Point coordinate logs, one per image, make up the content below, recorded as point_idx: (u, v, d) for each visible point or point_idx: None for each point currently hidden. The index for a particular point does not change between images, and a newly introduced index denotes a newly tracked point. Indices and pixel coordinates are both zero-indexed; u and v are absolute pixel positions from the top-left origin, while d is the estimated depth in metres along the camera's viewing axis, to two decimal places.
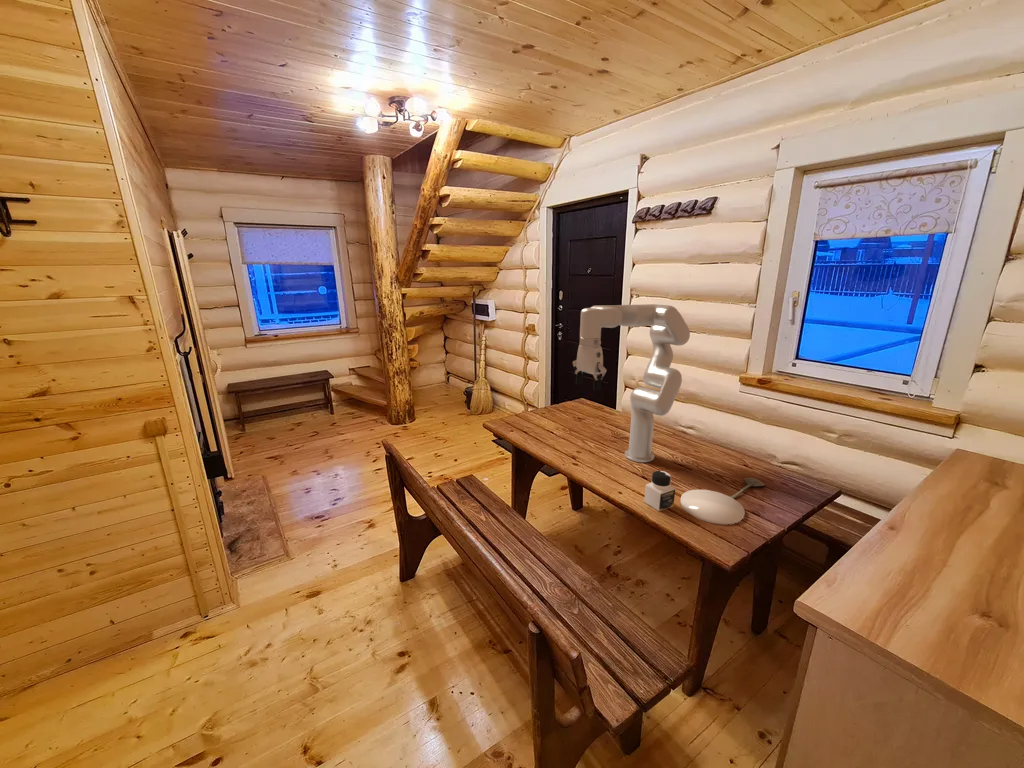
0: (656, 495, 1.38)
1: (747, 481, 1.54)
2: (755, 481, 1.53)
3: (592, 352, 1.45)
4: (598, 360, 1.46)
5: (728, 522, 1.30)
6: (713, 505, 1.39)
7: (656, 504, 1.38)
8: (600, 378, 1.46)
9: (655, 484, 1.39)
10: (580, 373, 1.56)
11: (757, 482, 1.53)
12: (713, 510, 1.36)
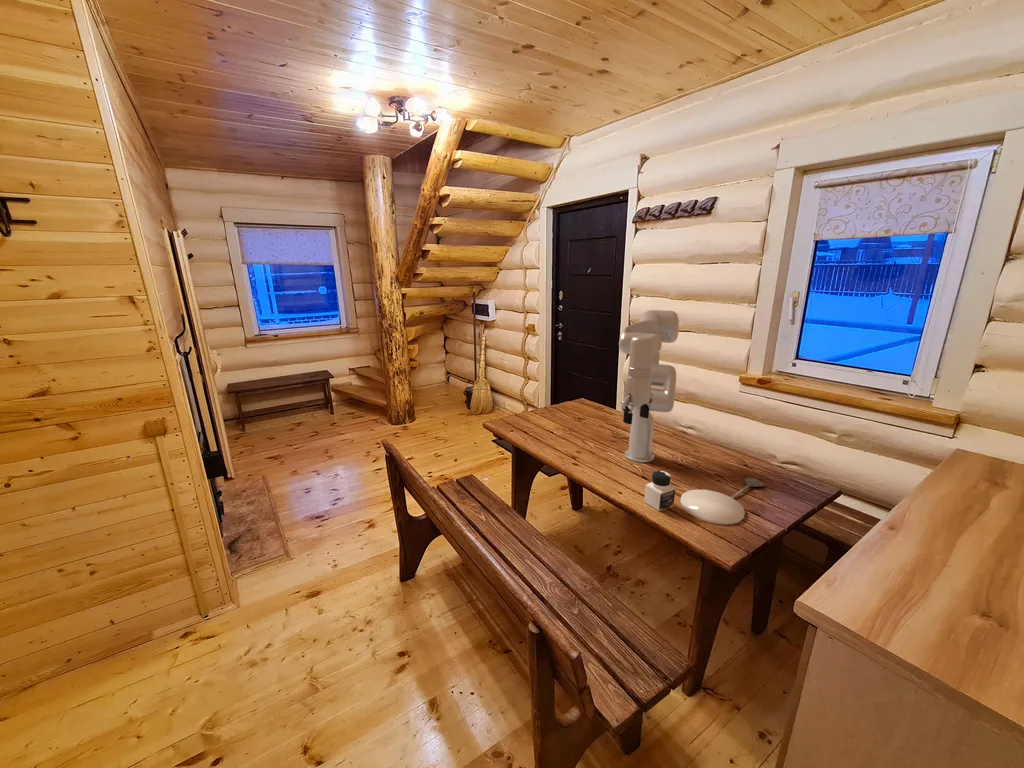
0: (656, 495, 1.38)
1: (747, 481, 1.54)
2: (755, 481, 1.53)
3: (650, 380, 1.39)
4: None
5: (728, 522, 1.30)
6: (713, 505, 1.39)
7: (656, 504, 1.38)
8: None
9: (655, 484, 1.39)
10: None
11: (757, 482, 1.53)
12: (713, 510, 1.36)
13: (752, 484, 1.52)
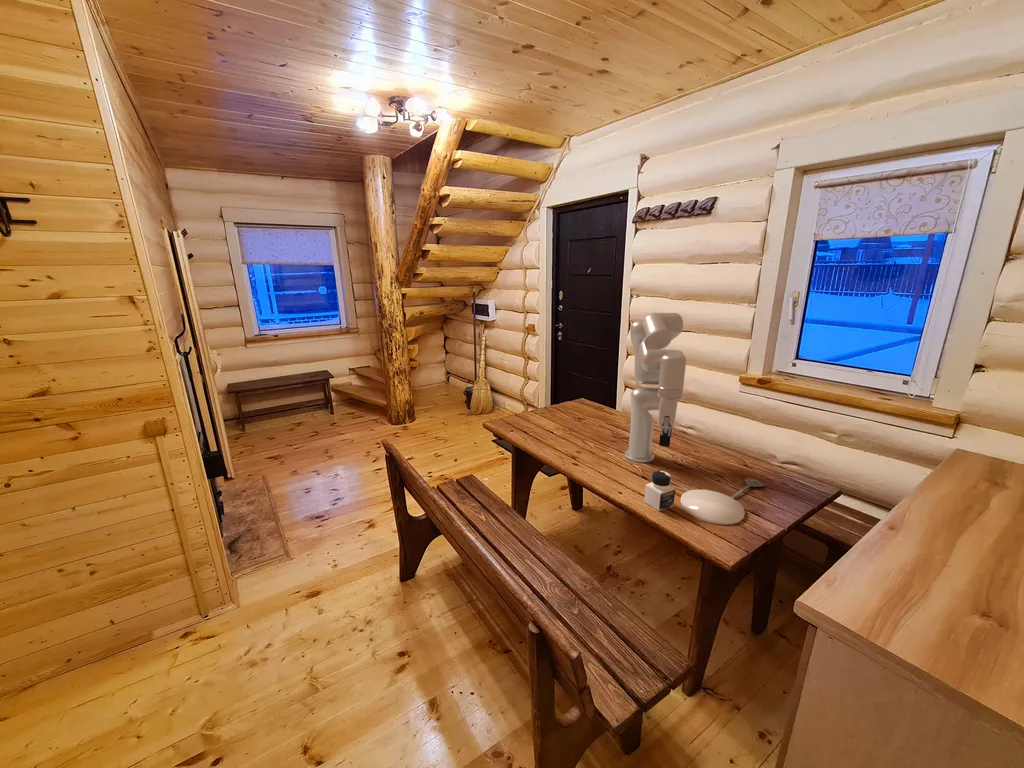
0: (656, 495, 1.38)
1: (747, 482, 1.54)
2: (755, 482, 1.53)
3: None
4: None
5: (728, 522, 1.30)
6: (713, 505, 1.39)
7: (656, 504, 1.38)
8: None
9: (655, 484, 1.39)
10: None
11: (757, 483, 1.53)
12: (713, 510, 1.36)
13: (752, 484, 1.52)
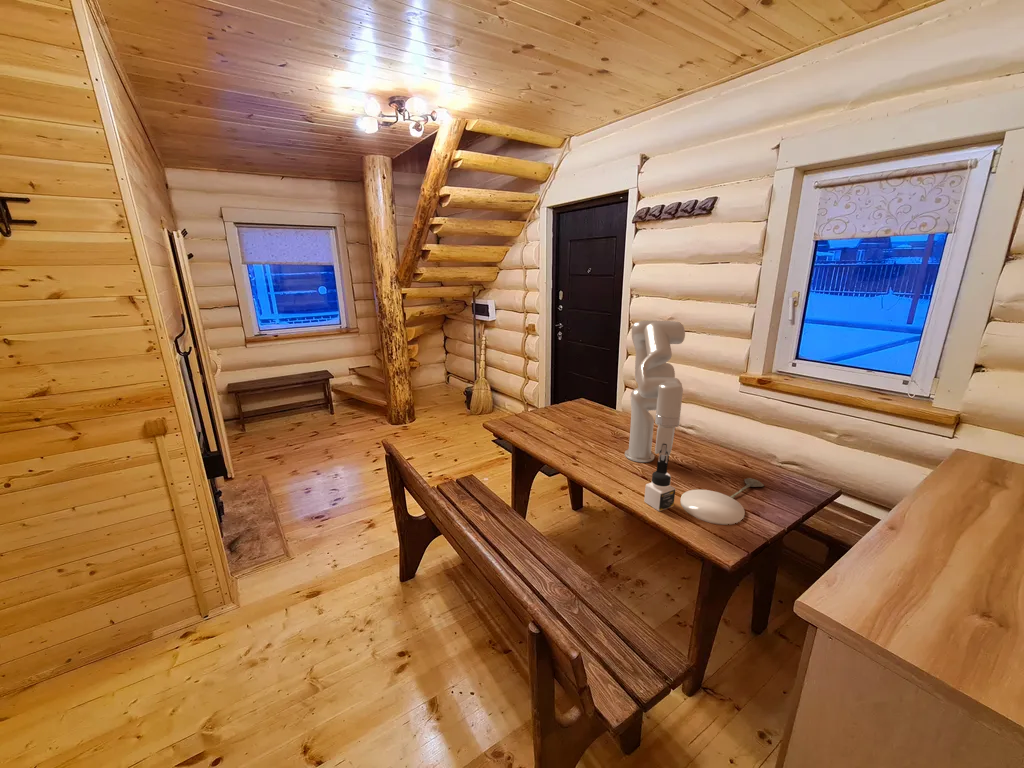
0: (656, 495, 1.38)
1: (746, 481, 1.54)
2: (754, 482, 1.53)
3: None
4: None
5: (728, 522, 1.30)
6: (713, 505, 1.39)
7: (656, 504, 1.38)
8: None
9: (655, 484, 1.39)
10: None
11: (756, 483, 1.53)
12: (713, 510, 1.36)
13: (751, 484, 1.52)
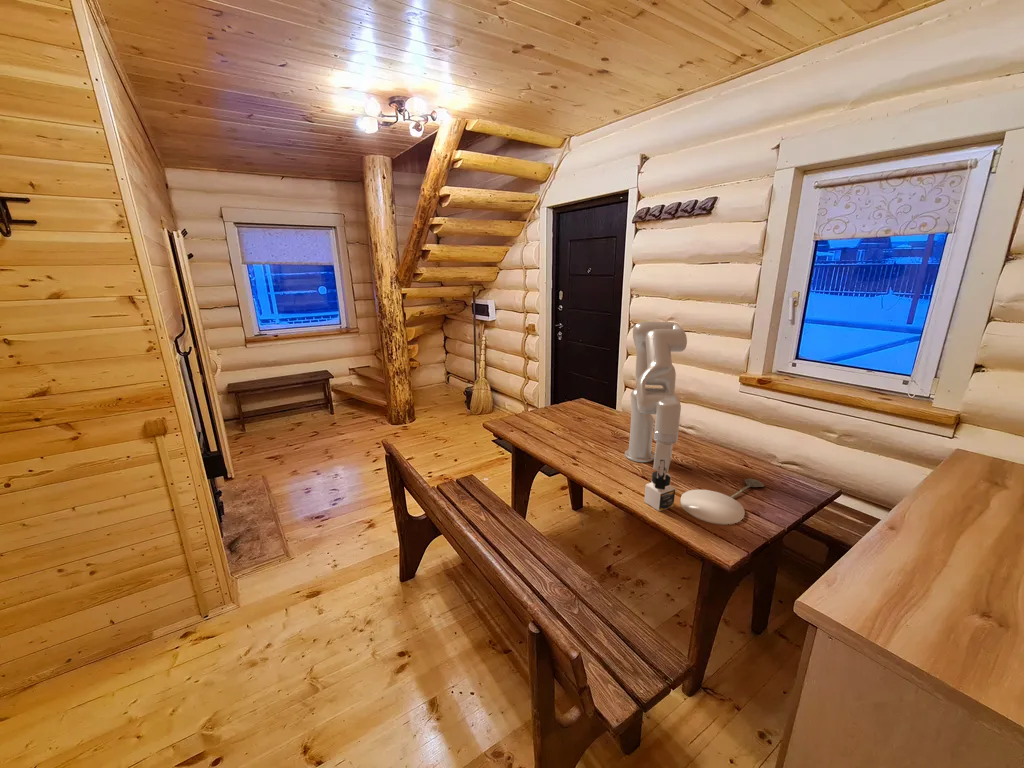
0: (656, 495, 1.38)
1: (747, 482, 1.54)
2: (755, 482, 1.53)
3: None
4: None
5: (728, 522, 1.30)
6: (713, 505, 1.39)
7: (656, 504, 1.38)
8: None
9: None
10: None
11: (757, 483, 1.52)
12: (713, 510, 1.36)
13: (752, 484, 1.52)
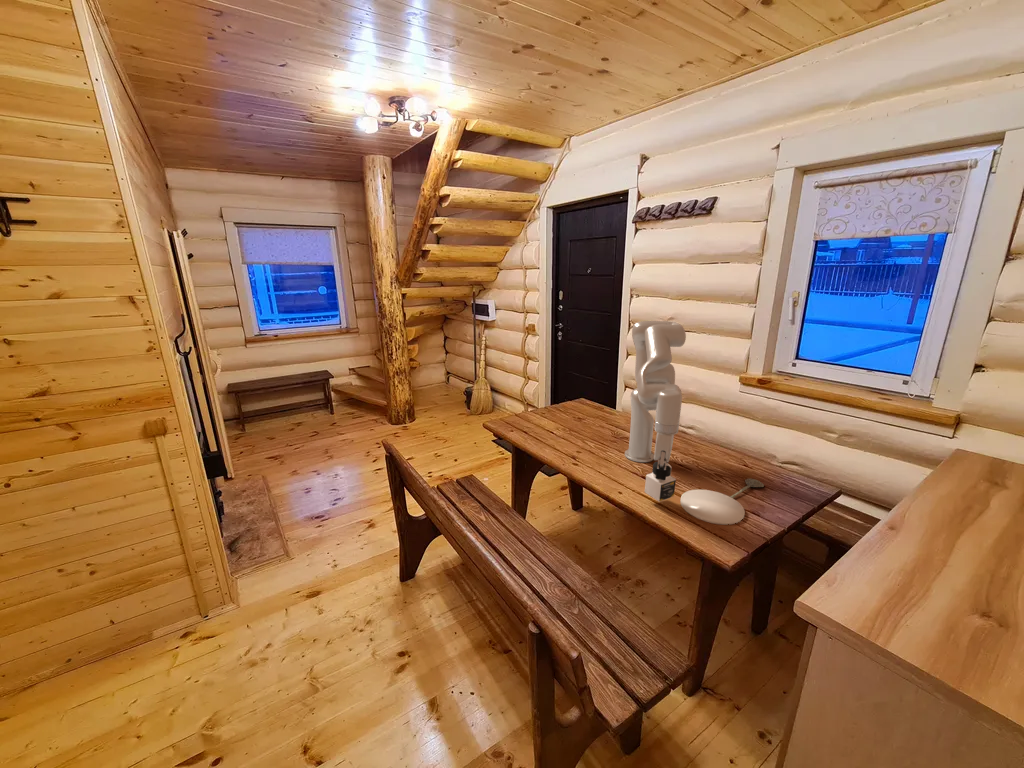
0: (656, 486, 1.38)
1: (747, 482, 1.54)
2: (755, 482, 1.53)
3: None
4: None
5: (728, 522, 1.30)
6: (713, 505, 1.39)
7: (657, 494, 1.38)
8: None
9: (655, 475, 1.38)
10: None
11: (757, 483, 1.52)
12: (713, 510, 1.36)
13: (752, 485, 1.52)
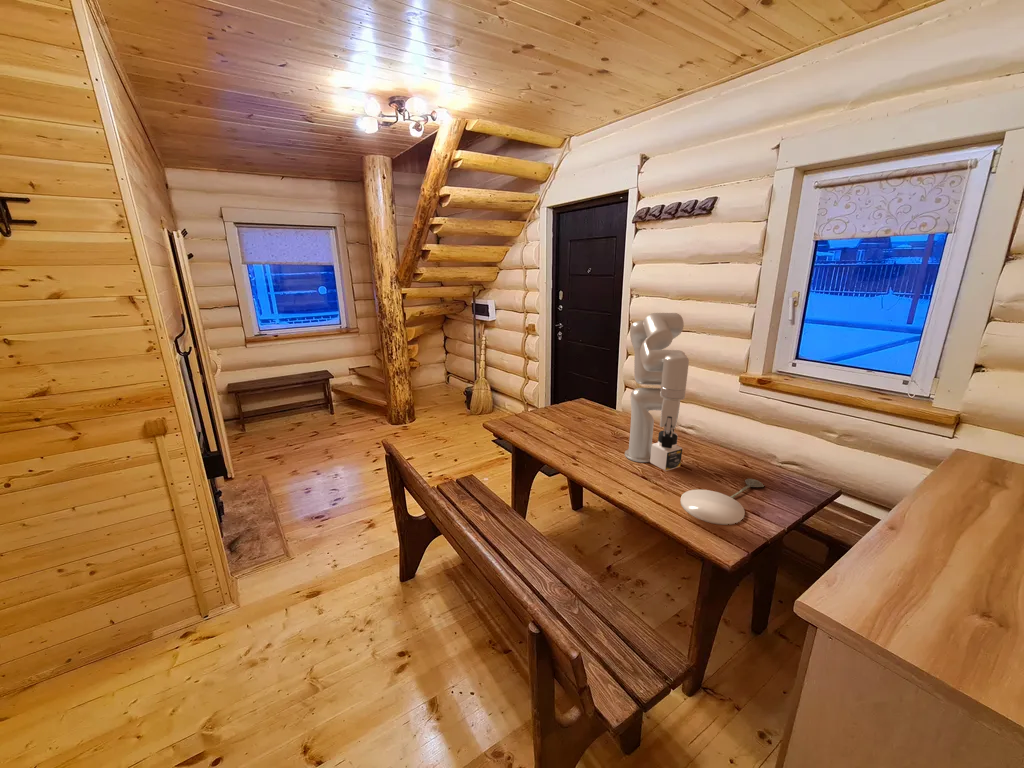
0: (662, 454, 1.34)
1: (747, 482, 1.54)
2: (755, 482, 1.53)
3: None
4: None
5: (728, 522, 1.30)
6: (713, 505, 1.39)
7: (663, 463, 1.34)
8: None
9: (661, 443, 1.35)
10: None
11: (757, 483, 1.52)
12: (713, 510, 1.36)
13: (752, 485, 1.52)
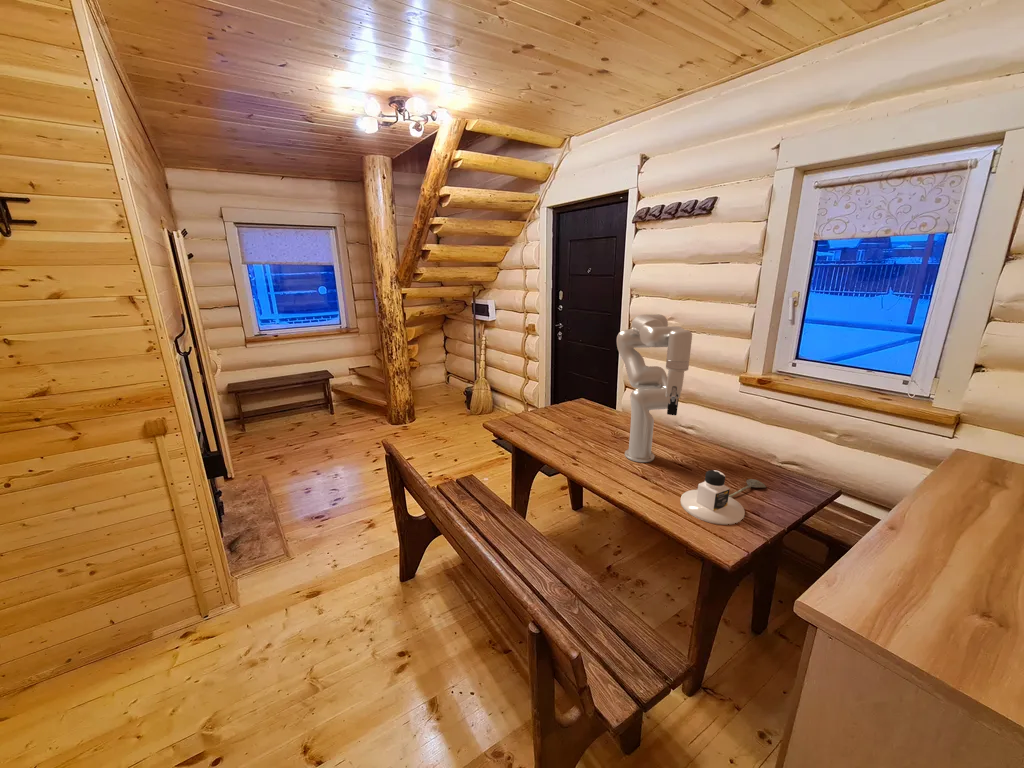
0: (710, 495, 1.36)
1: (748, 482, 1.54)
2: (756, 482, 1.52)
3: None
4: None
5: (728, 522, 1.30)
6: None
7: (711, 504, 1.36)
8: None
9: (709, 484, 1.36)
10: None
11: (758, 483, 1.52)
12: None
13: (753, 485, 1.52)
